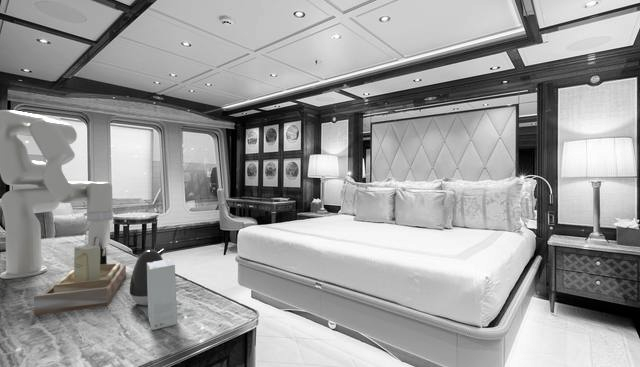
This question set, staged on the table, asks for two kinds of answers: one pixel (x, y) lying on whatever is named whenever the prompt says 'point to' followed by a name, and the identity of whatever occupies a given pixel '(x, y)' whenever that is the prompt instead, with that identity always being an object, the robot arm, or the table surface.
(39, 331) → the table surface
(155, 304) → the skincare box
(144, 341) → the table surface
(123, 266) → the wooden serving tray
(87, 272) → the skincare box
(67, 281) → the birch crate
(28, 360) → the table surface
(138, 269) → the black penguin figurine
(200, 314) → the table surface
